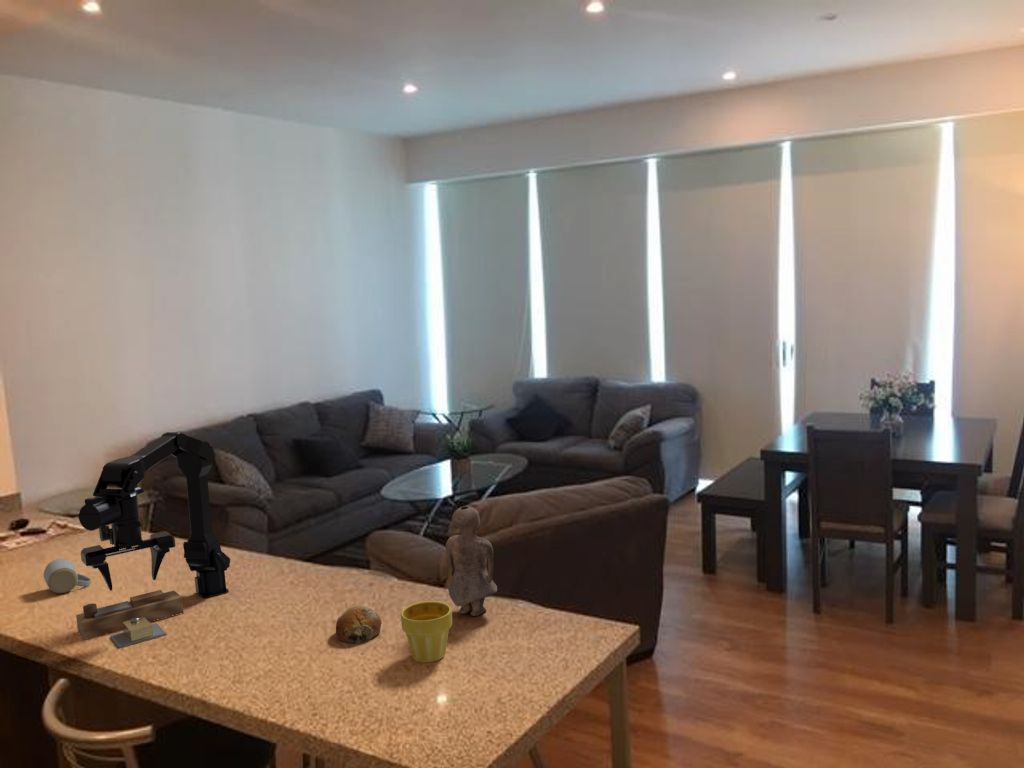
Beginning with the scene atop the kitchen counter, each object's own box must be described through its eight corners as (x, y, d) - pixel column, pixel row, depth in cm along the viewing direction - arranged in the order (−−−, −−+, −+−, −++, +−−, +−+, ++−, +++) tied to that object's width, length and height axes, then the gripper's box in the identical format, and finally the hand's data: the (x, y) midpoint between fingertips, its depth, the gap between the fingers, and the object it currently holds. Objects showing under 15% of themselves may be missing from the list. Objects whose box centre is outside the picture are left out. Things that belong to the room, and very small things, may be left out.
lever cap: (153, 635, 193) (151, 622, 192) (131, 641, 190) (130, 628, 190) (144, 626, 198) (143, 613, 198) (123, 632, 196) (122, 619, 195)
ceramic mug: (49, 597, 222) (46, 569, 221) (44, 589, 229) (42, 561, 228) (93, 588, 228) (91, 560, 227) (88, 580, 235) (86, 553, 234)
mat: (156, 624, 200) (156, 623, 200) (166, 634, 194) (166, 633, 194) (110, 637, 194) (110, 635, 194) (119, 648, 188) (119, 646, 188)
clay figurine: (507, 608, 199) (502, 504, 196) (485, 624, 191) (479, 515, 188) (460, 601, 206) (454, 499, 203) (437, 616, 197) (430, 510, 194)
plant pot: (434, 671, 169) (431, 623, 168) (393, 661, 175) (390, 615, 174) (464, 650, 178) (461, 605, 177) (424, 641, 183) (421, 597, 182)
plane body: (175, 605, 212) (173, 580, 211) (183, 613, 207) (180, 587, 206) (78, 631, 199) (74, 604, 198) (83, 639, 193) (80, 612, 193)
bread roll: (386, 645, 191) (391, 608, 193) (365, 644, 182) (370, 605, 184) (347, 641, 194) (352, 605, 197) (324, 640, 185) (330, 602, 187)
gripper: (158, 502, 203) (165, 566, 205) (72, 519, 192) (79, 586, 194) (172, 511, 194) (179, 577, 196) (82, 529, 183) (90, 599, 185)
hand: (132, 584), depth 193 cm, fingers open, 9 cm apart
